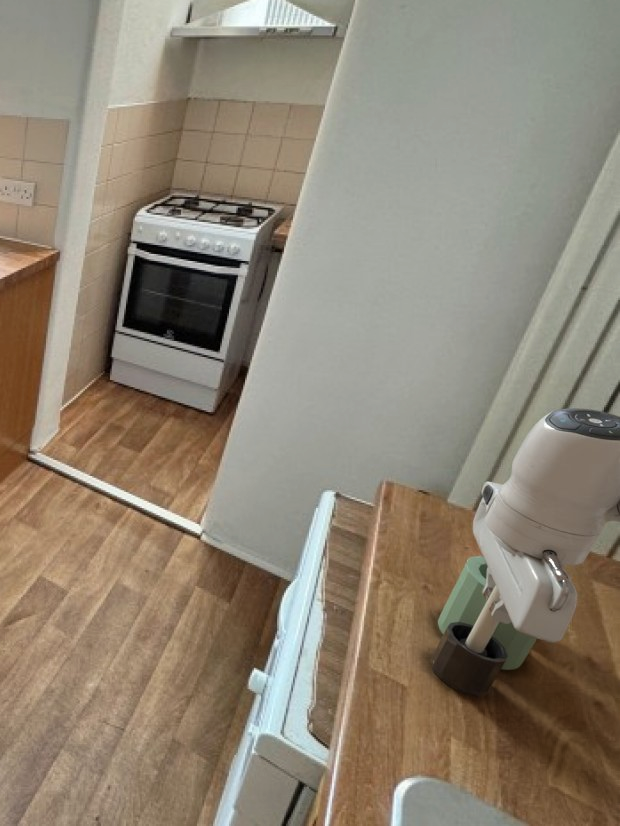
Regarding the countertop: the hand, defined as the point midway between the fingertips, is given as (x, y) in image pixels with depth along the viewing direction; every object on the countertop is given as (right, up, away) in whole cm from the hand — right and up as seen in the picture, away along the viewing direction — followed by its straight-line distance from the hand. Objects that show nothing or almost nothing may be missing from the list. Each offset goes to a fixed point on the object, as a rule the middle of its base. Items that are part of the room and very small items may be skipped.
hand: (494, 608), depth 80 cm
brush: (0, -11, +5) cm, 12 cm away
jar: (+8, -10, +10) cm, 16 cm away
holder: (0, -12, +5) cm, 13 cm away
